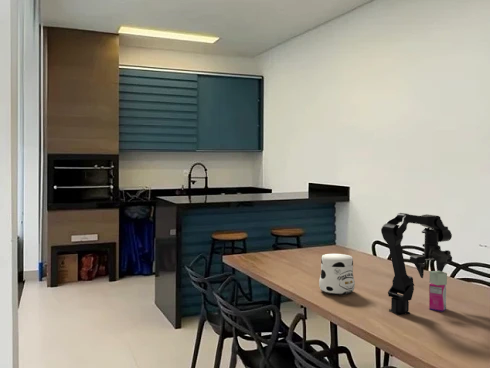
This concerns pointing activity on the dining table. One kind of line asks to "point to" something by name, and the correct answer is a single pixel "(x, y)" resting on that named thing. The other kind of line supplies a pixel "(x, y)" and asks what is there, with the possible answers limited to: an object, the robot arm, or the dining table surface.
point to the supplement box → (437, 297)
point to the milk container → (337, 274)
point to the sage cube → (438, 278)
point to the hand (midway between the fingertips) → (430, 277)
